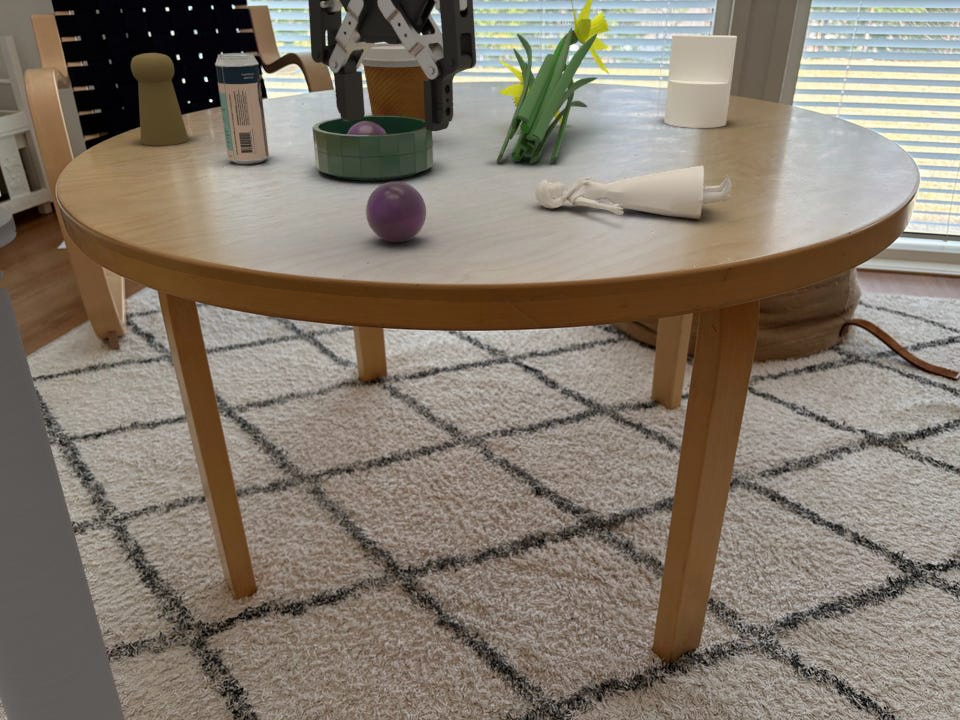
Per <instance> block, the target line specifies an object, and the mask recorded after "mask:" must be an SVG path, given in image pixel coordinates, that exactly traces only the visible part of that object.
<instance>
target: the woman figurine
mask: <svg viewBox="0 0 960 720" xmlns="http://www.w3.org/2000/svg"><path fill="white" fill-rule="evenodd" d="M725 176H726V177H725V179H723V181H722V182H721V184H719V185H706V186H704V180H705V167H704V165H695V166H690V167H685V168H679V169H672V170H665V171H660V172H655V173H650V174H649V173H648V174H644V175H637V176H633V177H623V178H620V179H618V180H615V181H610V182H608V183H603V182H598V181H594V180H592V179H595V176H594V177H593V176H586V177H584V178H581V179H579V180H578V181H576V182H575V183H574V184H573V185H571V186H569V188H567V189H565V184H564V183H562V182H560V181H559V180H556V181H555V182H548V180H547V178H544V179H543V180H541V181H539V184H538V185H537V188H536V189H535V192H534V195H535V199H536V201H537V202H538V205H541V206H542V207H544V208H545V209H551V210H552V209H557V208H559V207H561V206H563V205H564V204H565V203H566V202H567V201H569V203H570V204H571V205H572V206H573V207H581V206H583V207H584V206H585V207H590V208H593V209H598V210H599V209H600V210H604V211H608V212H611V213H613V214H615V215H617V216H621V215H624V212H625V211H624V209H628V210H633V211H639V212H644V213H650V214H654V215H660V216H667V217H676V218H684V219H690V220H691V219H692V220H701V215H702V209H703V206H704V205H709V204H712V203H718V202H725V201H729V200H731V199H732V194H730V193H731V191H732V182H731V178H730V176H729V175H728V174H725ZM601 200H607V201H609V202H610V203H611V204H612V205H608V204H605V203H601V202H600V201H601Z"/></svg>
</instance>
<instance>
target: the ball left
mask: <svg viewBox="0 0 960 720" xmlns="http://www.w3.org/2000/svg"><path fill="white" fill-rule="evenodd" d="M347 134H348V135H383V134H387V133H386V131H385V130H384V129H383V128H382V127H381V126H380V125H378V124H376V123H374V122H371V121H362V122H359V123H356V124H355V125H353V126H352V127H351V128H350V129H349V131H348V132H347Z"/></svg>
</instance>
